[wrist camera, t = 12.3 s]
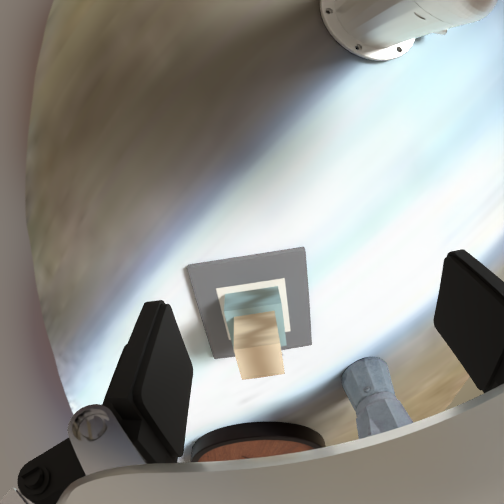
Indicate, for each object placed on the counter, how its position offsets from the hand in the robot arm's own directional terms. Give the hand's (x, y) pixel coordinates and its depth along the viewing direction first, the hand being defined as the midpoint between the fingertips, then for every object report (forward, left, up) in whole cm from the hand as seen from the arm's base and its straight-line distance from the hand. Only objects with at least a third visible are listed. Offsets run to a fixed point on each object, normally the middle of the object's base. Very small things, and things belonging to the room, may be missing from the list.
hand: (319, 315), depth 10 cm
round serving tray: (+9, +63, -29) cm, 70 cm away
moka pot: (-14, +38, -28) cm, 50 cm away
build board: (+3, +19, -28) cm, 34 cm away
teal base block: (+3, +19, -27) cm, 33 cm away
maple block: (+3, +19, -23) cm, 30 cm away
